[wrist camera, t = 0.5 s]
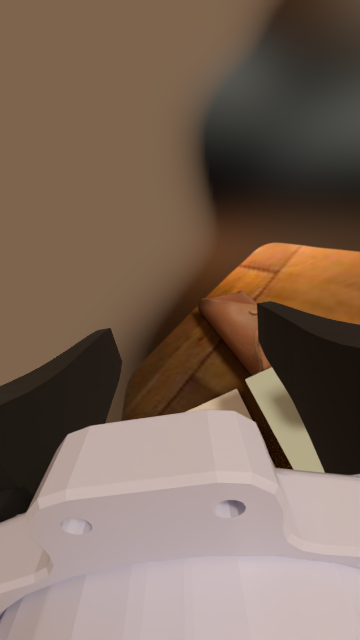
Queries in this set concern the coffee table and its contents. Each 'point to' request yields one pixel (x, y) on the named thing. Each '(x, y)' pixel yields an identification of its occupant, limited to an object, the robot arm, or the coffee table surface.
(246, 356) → the sunglasses case
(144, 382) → the coffee table surface
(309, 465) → the lid
